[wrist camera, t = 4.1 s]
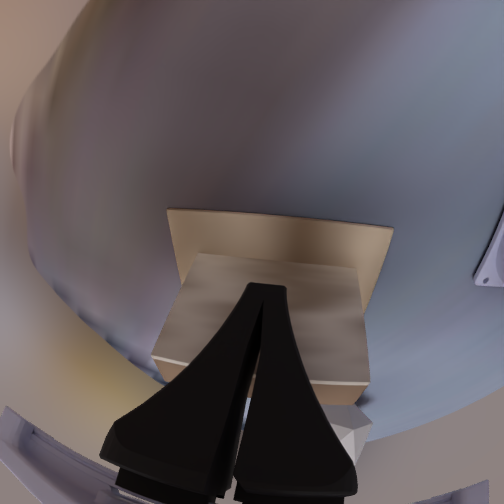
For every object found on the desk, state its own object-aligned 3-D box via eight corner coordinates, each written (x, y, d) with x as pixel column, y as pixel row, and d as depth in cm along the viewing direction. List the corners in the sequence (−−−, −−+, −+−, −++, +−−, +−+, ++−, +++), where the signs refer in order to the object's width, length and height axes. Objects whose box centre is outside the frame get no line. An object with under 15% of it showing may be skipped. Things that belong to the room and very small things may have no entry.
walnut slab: (356, 268, 15) (370, 382, 10) (346, 299, 17) (352, 405, 11) (198, 253, 16) (150, 354, 11) (202, 284, 18) (165, 381, 12)
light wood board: (392, 227, 13) (393, 229, 13) (333, 378, 23) (333, 380, 23) (167, 208, 15) (166, 209, 15) (203, 363, 25) (202, 364, 25)
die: (313, 414, 31) (358, 467, 24) (258, 432, 26) (304, 498, 19) (345, 370, 29) (401, 426, 21) (287, 386, 24) (350, 462, 16)
